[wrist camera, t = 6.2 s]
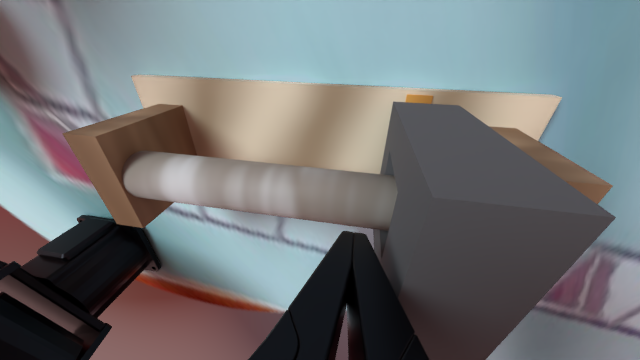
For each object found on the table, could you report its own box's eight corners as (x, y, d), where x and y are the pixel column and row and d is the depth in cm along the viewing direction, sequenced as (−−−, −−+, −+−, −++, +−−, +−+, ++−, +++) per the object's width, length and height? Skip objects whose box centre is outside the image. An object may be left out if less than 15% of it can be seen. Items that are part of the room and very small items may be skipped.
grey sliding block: (459, 105, 11) (616, 217, 4) (421, 219, 14) (468, 377, 8) (393, 101, 11) (433, 197, 4) (372, 213, 15) (377, 358, 8)
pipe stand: (553, 94, 11) (712, 142, 6) (484, 223, 15) (542, 314, 10) (139, 74, 14) (13, 94, 9) (180, 186, 18) (109, 241, 13)
